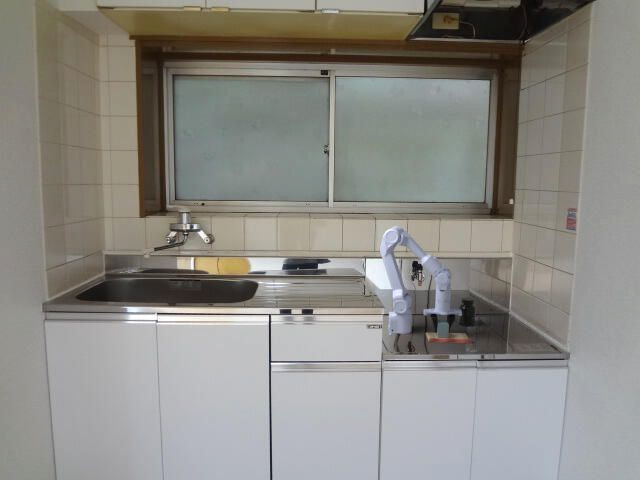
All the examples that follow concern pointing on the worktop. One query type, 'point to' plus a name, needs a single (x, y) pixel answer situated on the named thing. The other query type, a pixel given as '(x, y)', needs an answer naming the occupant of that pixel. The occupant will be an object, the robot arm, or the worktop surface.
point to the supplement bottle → (467, 312)
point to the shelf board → (449, 338)
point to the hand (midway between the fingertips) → (441, 332)
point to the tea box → (442, 328)
